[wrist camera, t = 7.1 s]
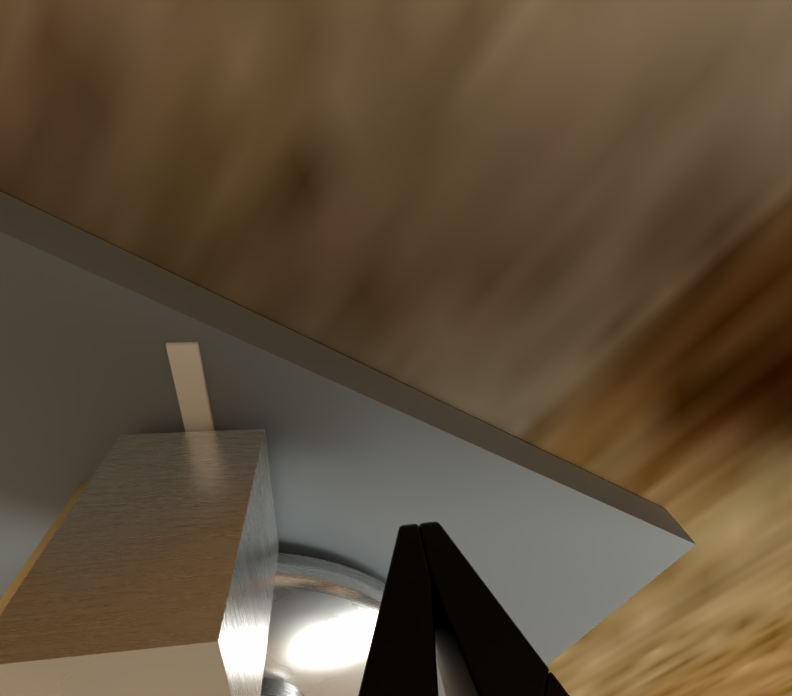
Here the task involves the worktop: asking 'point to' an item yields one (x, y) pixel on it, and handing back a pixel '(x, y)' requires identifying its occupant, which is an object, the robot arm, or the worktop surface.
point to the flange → (184, 586)
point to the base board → (289, 436)
